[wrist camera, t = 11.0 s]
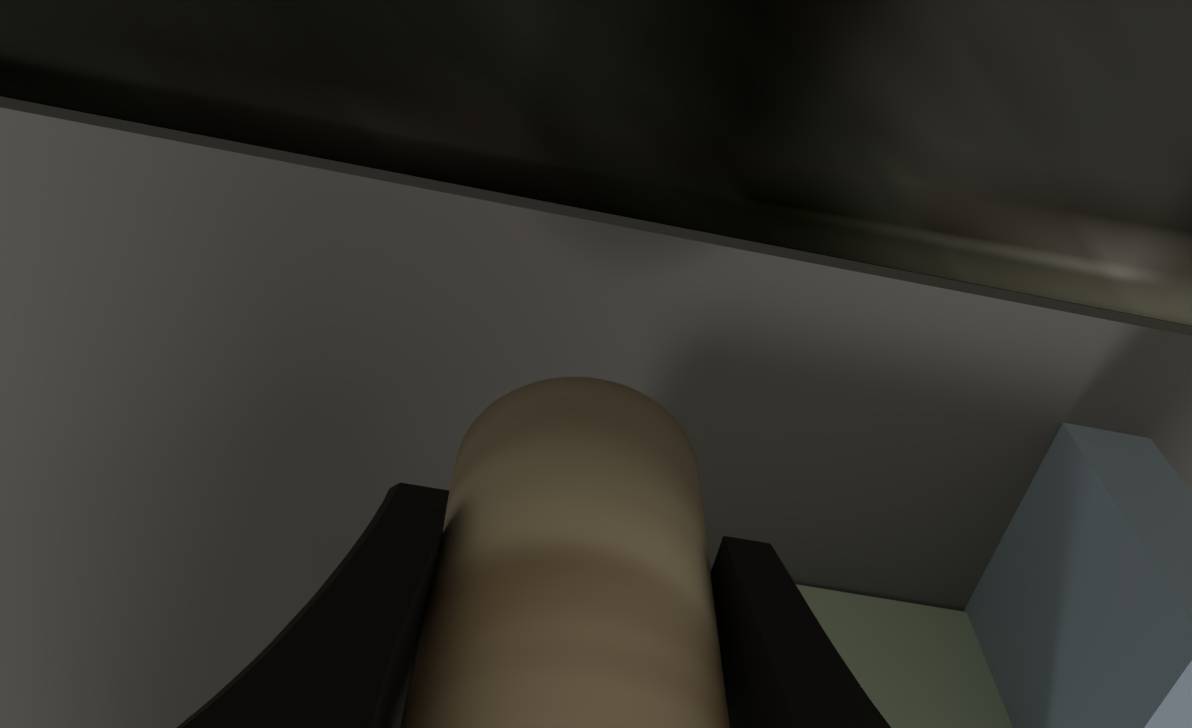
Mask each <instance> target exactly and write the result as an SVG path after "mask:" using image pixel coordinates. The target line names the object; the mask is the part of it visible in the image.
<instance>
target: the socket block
mask: <svg viewBox="0 0 1192 728" xmlns="http://www.w3.org/2000/svg"><path fill="white" fill-rule="evenodd" d="M710 572H711V570H710ZM796 586H797V587H798V589H799V591H800V592H801V594H802V596H803V597H804V599H805V601H806V602H807V604H808V605H809V607H810V609H811V610H812V612H813V613H814V615H815V617H816V618H817V620H818V622H819V623H820V625H821V626H822V628H823V630H824V631H825V633H826V634H827V636H828V637H829V639H830V640H831V642H832V644H833V645H834V647H835V648H836V650H837V651H838V653H839V654H840V656H841V657H842V659H843V660H844V662H845V663H846V665H847V666H848V668H849V669H850V671H851V672H852V674H853V675H854V677H855V678H856V680H857V681H858V683H859V684H860V686H861V687H862V688H863V690H864V691H865V693H866V694H867V695H868V697H869V698H870V700H871V701H872V703H873V704H874V705H875V707H876V708H877V709H878V711H879V712H880V713H881V715H882V716H883V717H884V719H885V720H886V721H887V723H888V724H889V725H890V727H891V728H1013V726H1012V724H1011V721H1010V719H1009V716H1008V714H1007V711H1006V709H1005V706H1004V704H1003V701H1002V699H1001V696H1000V694H999V691H998V689H997V686H996V684H995V682H994V679H993V677H992V674H991V672H990V669H989V667H988V664H987V662H986V659H985V657H984V654H983V652H982V649H981V647H980V644H979V642H978V639H977V637H976V634H975V632H974V629H973V627H972V624H971V622H970V619H969V617H968V614H967V612H963V611H957V610H951V609H945V608H939V607H933V606H926V605H920V604H914V603H908V602H902V601H896V600H889V599H883V598H877V597H871V596H865V595H859V594H852V593H846V592H840V591H834V590H828V589H822V588H815V587H809V586H803V585H797V584H796Z"/></svg>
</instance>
